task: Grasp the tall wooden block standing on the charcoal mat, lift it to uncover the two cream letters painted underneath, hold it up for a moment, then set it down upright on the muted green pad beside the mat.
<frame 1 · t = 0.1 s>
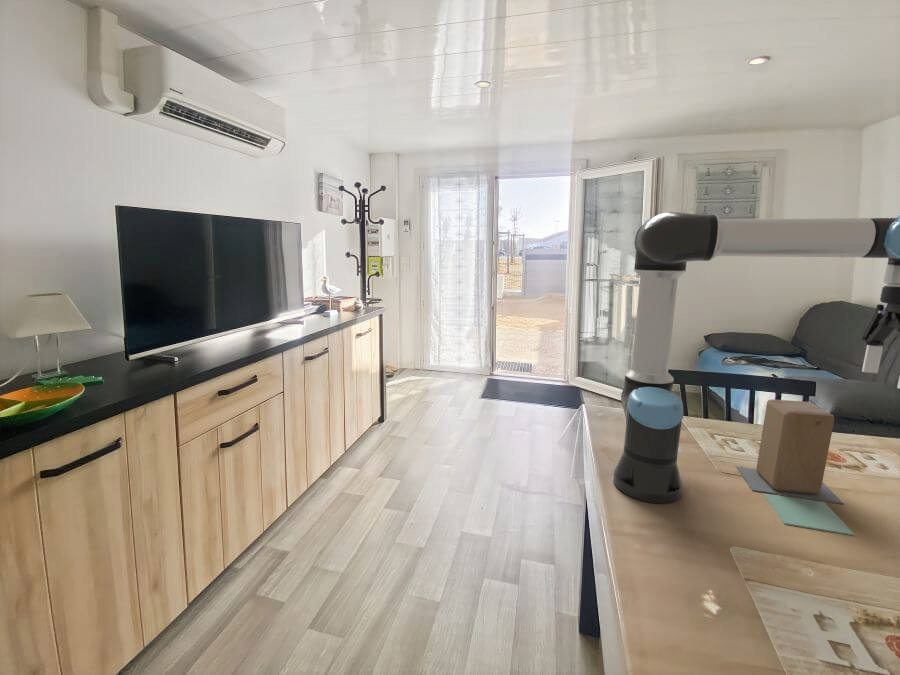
hand: (886, 380, 99), 28 cm above the table, tool pointing down, fingers open, 13 cm apart
wooden block: (785, 484, 108), resting on code mat
code mat: (785, 484, 108), on the table
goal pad: (805, 513, 96), on the table
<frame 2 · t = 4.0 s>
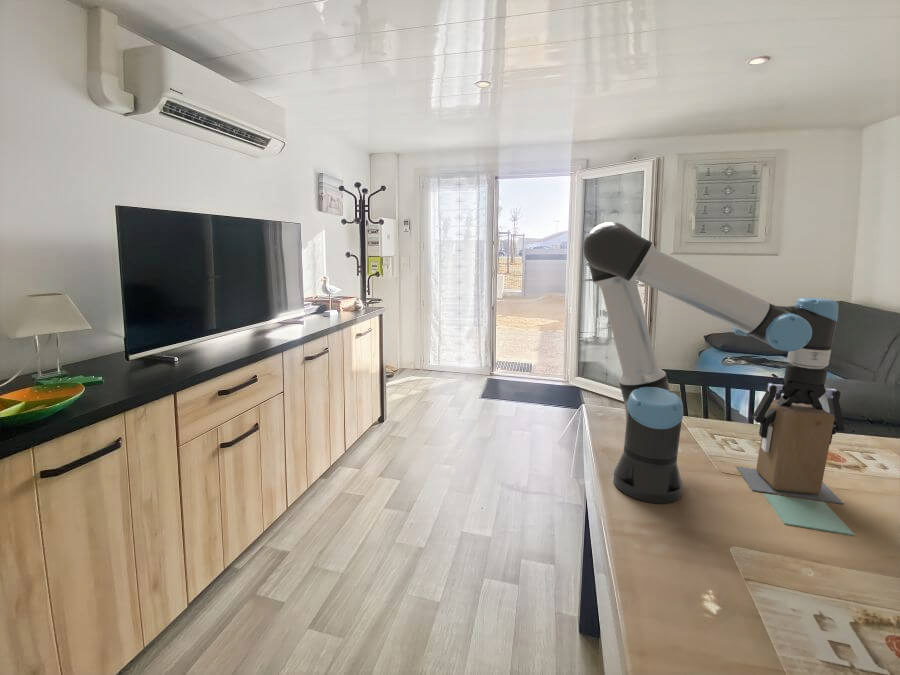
hand: (791, 453, 106), 8 cm above the table, tool pointing down, fingers closed on wooden block, 10 cm apart
wooden block: (785, 484, 108), resting on code mat, touching gripper
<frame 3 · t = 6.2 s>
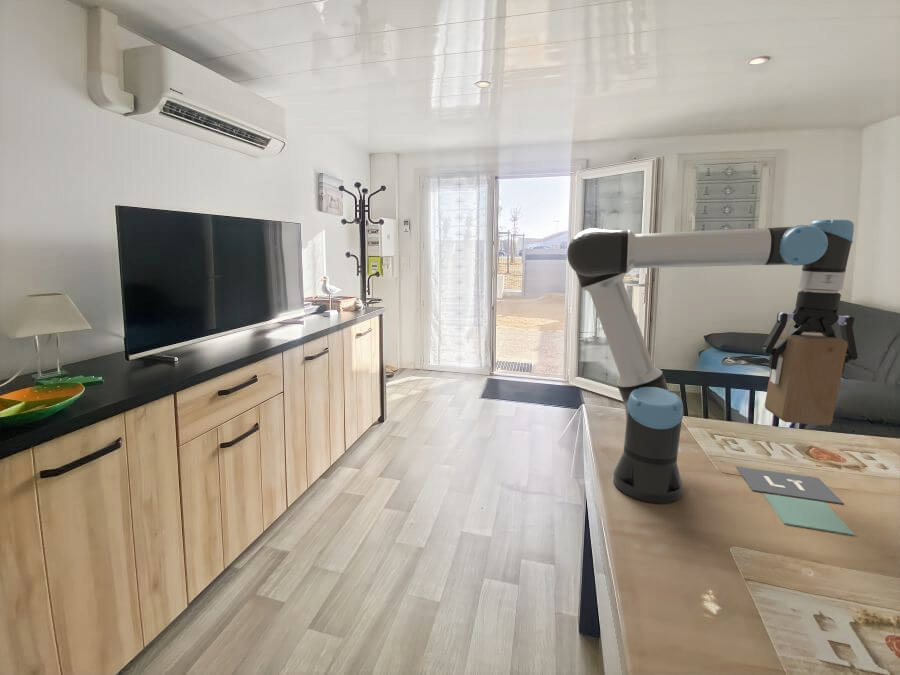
hand: (801, 385, 103), 26 cm above the table, tool pointing down, fingers closed on wooden block, 10 cm apart
wooden block: (795, 418, 104), point 17 cm above the table, touching gripper
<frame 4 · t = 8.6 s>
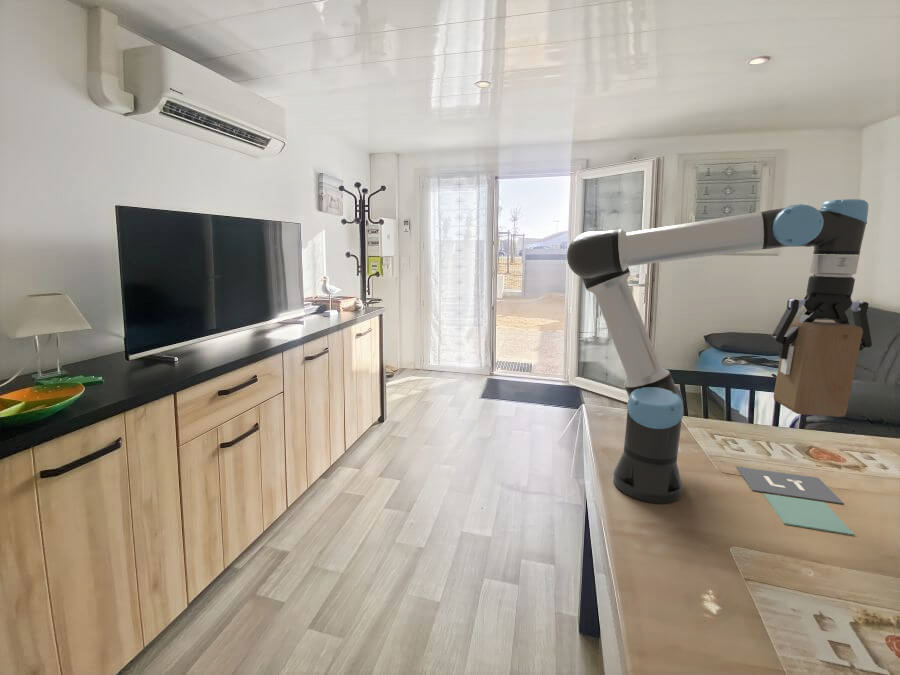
hand: (813, 375, 98), 29 cm above the table, tool pointing down, fingers closed on wooden block, 10 cm apart
wooden block: (806, 409, 99), point 21 cm above the table, touching gripper
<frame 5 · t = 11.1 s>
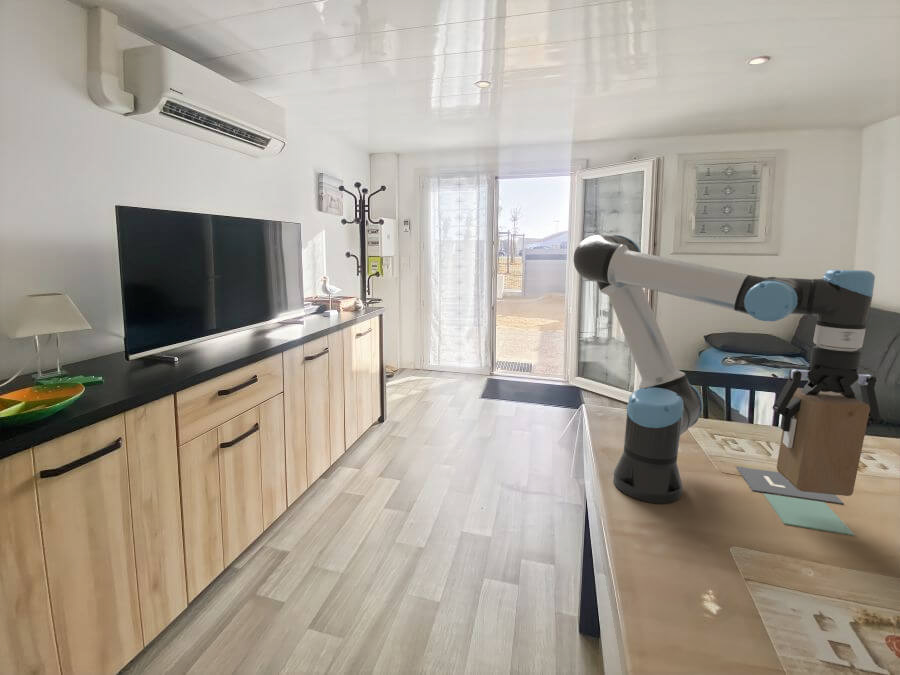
hand: (817, 448, 93), 15 cm above the table, tool pointing down, fingers closed on wooden block, 10 cm apart
wooden block: (811, 484, 94), point 7 cm above the table, touching gripper
when the fingers open (10 cm above the table, at t = 13.2 s): wooden block drops 1 cm, resting on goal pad.
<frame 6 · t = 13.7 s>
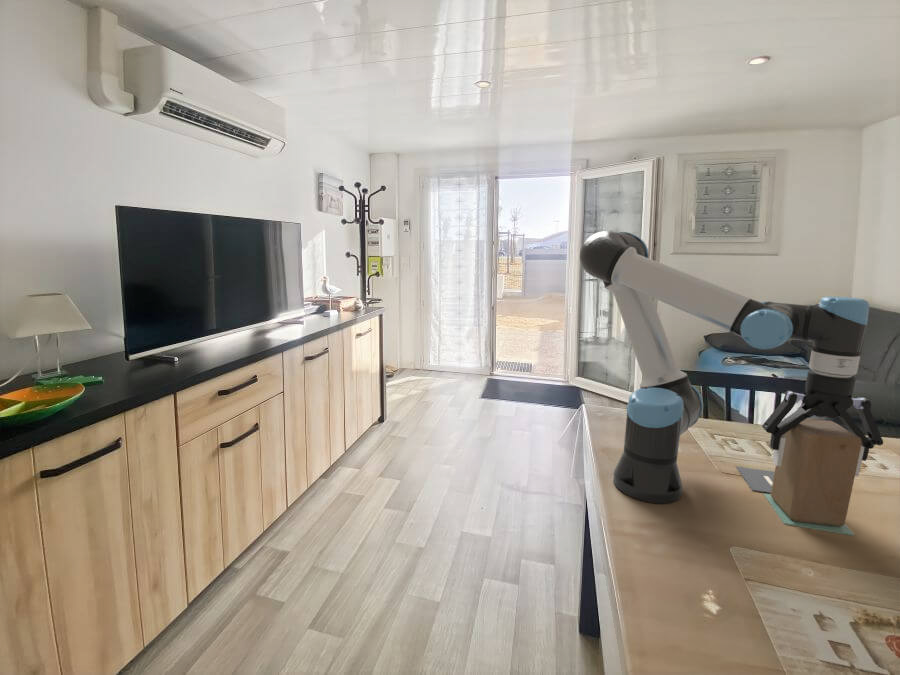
hand: (813, 468, 94), 11 cm above the table, tool pointing down, fingers open, 13 cm apart
wooden block: (804, 512, 96), resting on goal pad
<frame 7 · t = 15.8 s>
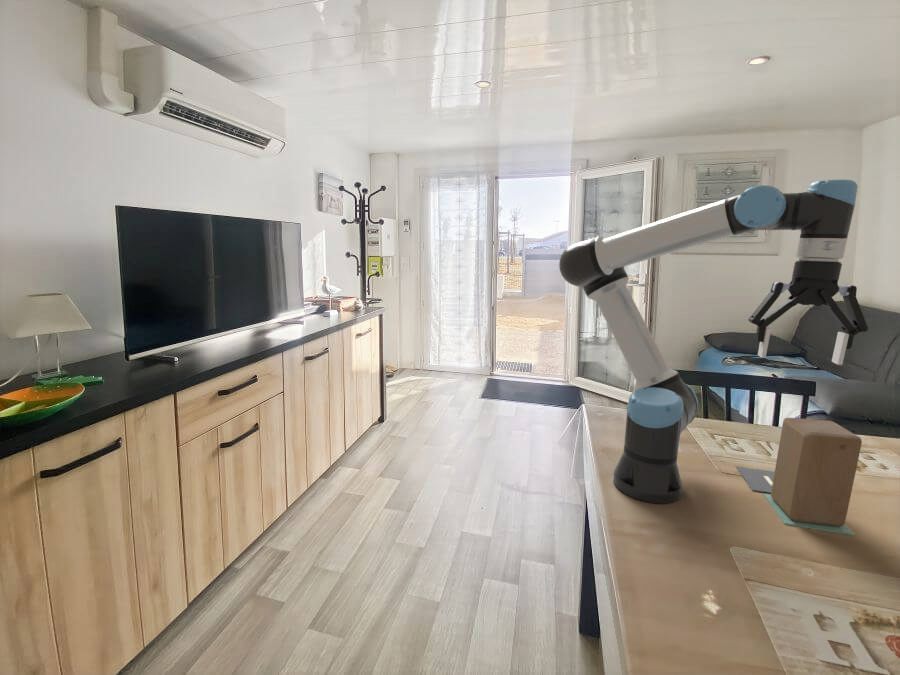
hand: (798, 360, 94), 33 cm above the table, tool pointing down, fingers open, 13 cm apart
nothing on the table moved.
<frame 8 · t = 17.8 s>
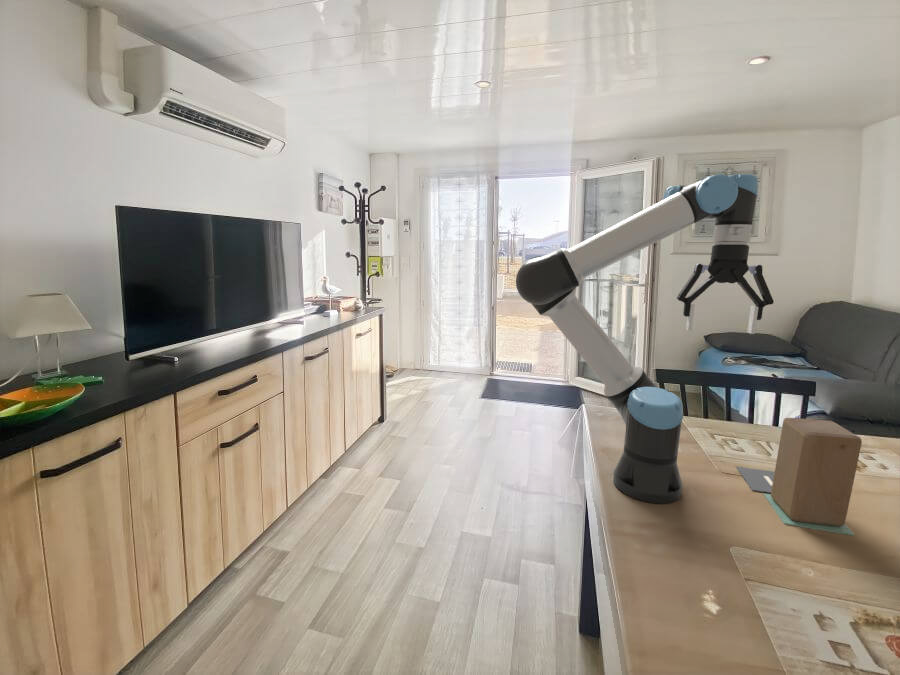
hand: (719, 331, 109), 37 cm above the table, tool pointing down, fingers open, 13 cm apart
nothing on the table moved.
at the end: wooden block inside the target area (0.1 cm from its centre), resting on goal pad; wooden block tilted 0°; the gripper is holding nothing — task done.
